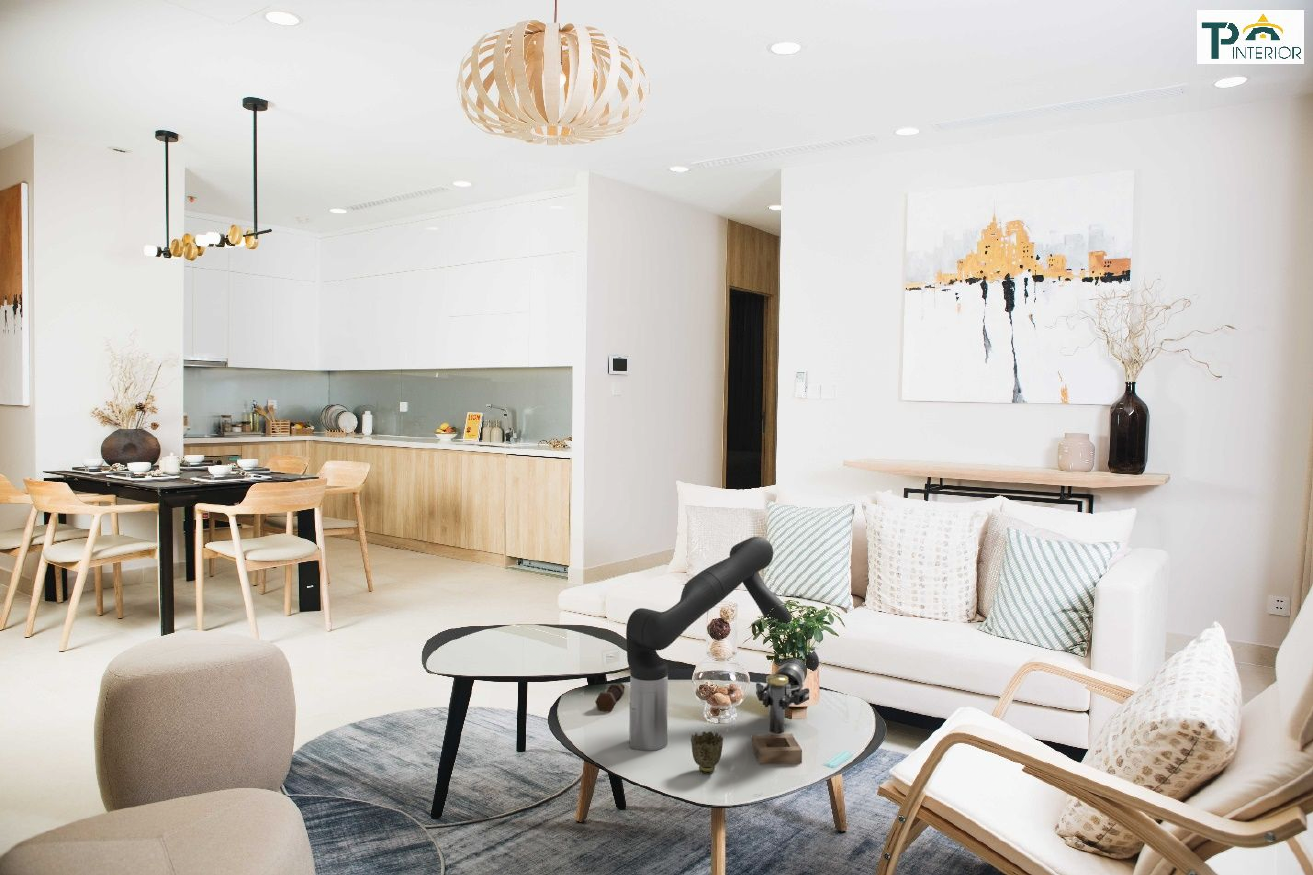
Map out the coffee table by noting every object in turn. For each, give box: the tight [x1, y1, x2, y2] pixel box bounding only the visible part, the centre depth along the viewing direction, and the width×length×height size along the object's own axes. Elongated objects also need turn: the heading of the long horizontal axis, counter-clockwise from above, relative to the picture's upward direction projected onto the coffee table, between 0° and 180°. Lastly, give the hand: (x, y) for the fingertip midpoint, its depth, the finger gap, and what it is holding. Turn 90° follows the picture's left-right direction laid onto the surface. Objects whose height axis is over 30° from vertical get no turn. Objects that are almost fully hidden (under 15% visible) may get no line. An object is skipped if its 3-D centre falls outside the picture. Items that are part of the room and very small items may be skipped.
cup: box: [690, 730, 724, 774], centre depth 202 cm, size 8×7×8 cm
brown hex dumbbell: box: [595, 682, 625, 713], centre depth 248 cm, size 6×5×15 cm
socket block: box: [751, 733, 803, 765], centre depth 212 cm, size 10×10×3 cm
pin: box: [765, 673, 788, 734], centre depth 212 cm, size 5×5×13 cm
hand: (774, 704), depth 209 cm, fingers closed on pin, 3 cm apart
